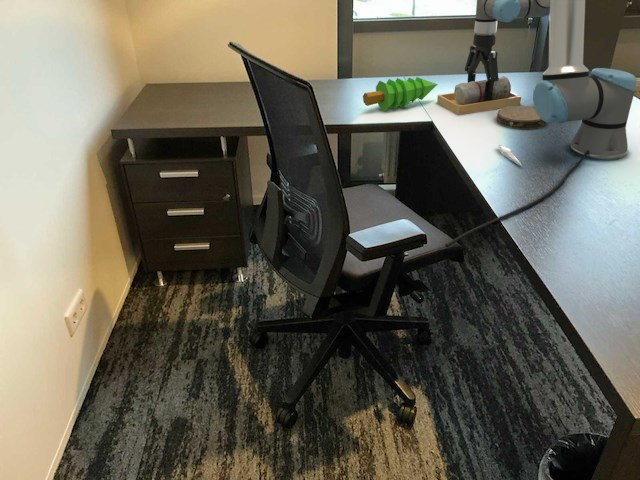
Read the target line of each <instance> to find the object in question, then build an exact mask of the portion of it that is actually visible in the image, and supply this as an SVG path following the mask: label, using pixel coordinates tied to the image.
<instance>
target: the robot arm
mask: <svg viewBox="0 0 640 480" xmlns="http://www.w3.org/2000/svg"><path fill="white" fill-rule="evenodd" d="M585 15H586V0H476V7H475V20H474V29H473V32H474V34H473V40H472V45H470V46H469V53H468V56H467V60H466V64H465V66H464V71H465V72H466V74H467V83H468V82H472V81H476V73H477V72H476V70H477V69H478V66H479V65H480V63H481V64H482V65H483V67H484V71H485V77H486V80H487V81H486V85H485V94H484V100H485V101H486V100H492V92H493V87H494V82H496V81H498V80H499V78H500V77H499V66H498V51H493V46H495V45H496V41H497V38H496V37H497V34H496V33H497V29H498V22H500V23H501V22H503V23H504V22H505V23H510V22H512V21H514V20H518V19H528V18H545V17H547V16H548V17H549V24H548V25H549V27H548V28H549V29H548V33H549V34H548V67H547V69H545V71H544V72H543V73H542V79H541V80H540V81H539V82H538V83H537V84H536V85H535V87H534V90H533V93H532V103H533V107H535V110H536V112H537V114H538V115H539V117H540V118H541V119H542V120H543V121H545V122H546V124H547V123H548V124H564V123H567V122H576V121H580V125H579V126H578V128H577V130H576V132H575V133H574V135H573V136H572V139H571V140H570V143H569V150H570V152H572V153H574V154H575V155H577V156H580V158H579V159H578V160H577V162H576V163H575V164H574V165H572V166H571V167H570V168H569V169H568V170H567V171H566V173H565V174H564V176H563V177H562V179H560V181H559V182H558V183H557V184H556V185H555V186H554V187H553V188H551V189H550V190H549V191H548V192H546V193H545V194H543V195H541V196H540V197H538V198H537V199H535V200H533V201H531V202H529V203H527V204H526V205H523V206H522V207H519V208H517V209H515V210H513V211H511V212H510V211H509V212H508V213H506V214H503V215H501V216H499V217H496V218H494V219H492V220H489V221H487V222H485V223H483V224H480V225H478V226H476V227H474V228H472V229H470V230H468V231H465V232H464V233H462V234H461V235H459V236H457V237H456V238H454V239H452V240H451V241H449V242H447V243H445V245H444V246H445V247H446V248H449V247H450V246H452V245H454V244H456V243H457V242H458V241H460V240H462V239H464V238H466V237H467V236H470V235H471V234H473V233H475V232H477V231H480V230H482V229H484V228H486V227H488V226H490V225H493V224H495V223H497V222H499V221H502V220H504V219H507V218H508V217H511V216H513V215H516V214H517V213H519V212H522V211H524V210H526V209H528V208H531V207H532V206H534V205H535V204H537V203H539V202H541V201H543V200H544V199H546V198H547V197H549V196H550V195H551V194H553V193H554V192H555V191H556V190H557V189H558V188H559V187H560V186H561V185H562V184H563V183H564V182H565V180H566V179H567V178H568V176H569V175H570V174H571V172H573V170H575V169H576V168H577V167H578V166H579V165H580V164H581V163H582V162H583V160H585V158H586V159H591V160H598V161H613V160H619V159H621V158H624V157H625V156H626V155H627V154H628V153H627V152H628V148H629V145H628V136H627V123H628V119H629V115H630V111H631V108H632V103H633V100H634V96H635V93H636V86H637V78H636V76H635V75H634V74H632V73H630V72H628V71H624V70H621V69H616V68H615V69H614V68H608V67H607V68H606V67H596V68H593V69H591V72H590V70H589V69H588V68H587V66H586V65H584V49H585V48H584V43H585V17H586V16H585Z"/></svg>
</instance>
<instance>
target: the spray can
mask: <svg viewBox="0 0 640 480" xmlns="http://www.w3.org/2000/svg"><path fill="white" fill-rule="evenodd" d="M498 78H499V80H498V81H496V82H494V87H493V92H492V100H499V99H505V98H507V97H508V96H509V94H510V92H511V93H512V86H511V82H510V80H509V78H508V77H506V76H504V75H503V76H501V77H498ZM486 81H487V79H481V80H477V81H476V80H475V81H472V82H468V81H467V82H460V83H458V84H456V85H455V86H454V91H453V93H454V94H455V97H454V99H455V101H456V102H457V103H459V104H462V105H467V104H474V103H480V102H486V101H492V100H486V101H485V100H484V94H485V85H486Z"/></svg>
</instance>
